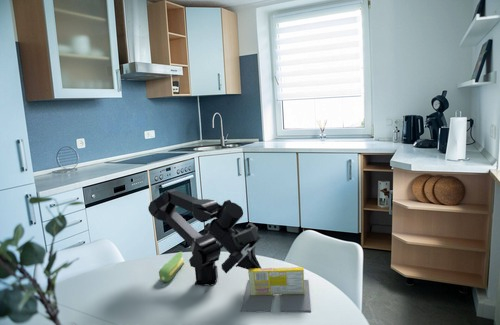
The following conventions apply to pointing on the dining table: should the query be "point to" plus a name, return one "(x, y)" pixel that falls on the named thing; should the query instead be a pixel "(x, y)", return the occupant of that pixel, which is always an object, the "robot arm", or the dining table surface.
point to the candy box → (276, 281)
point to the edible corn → (171, 268)
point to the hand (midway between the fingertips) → (261, 272)
